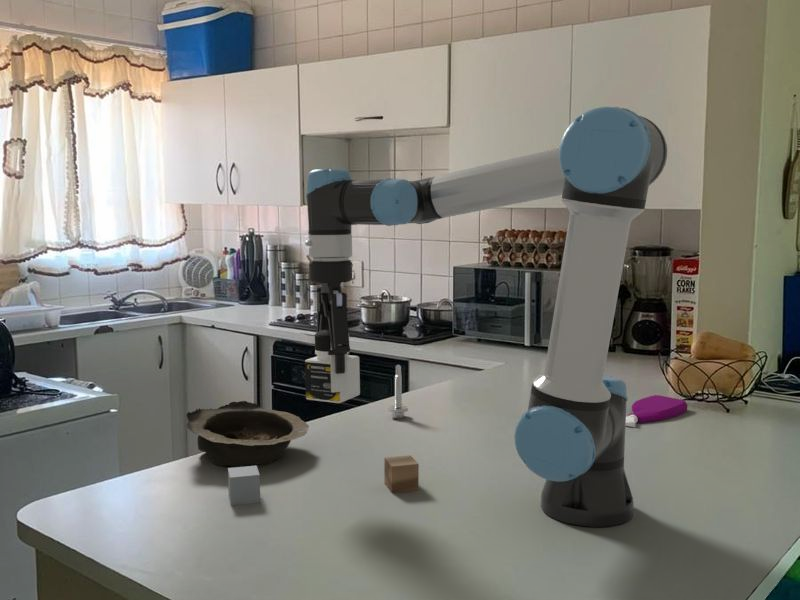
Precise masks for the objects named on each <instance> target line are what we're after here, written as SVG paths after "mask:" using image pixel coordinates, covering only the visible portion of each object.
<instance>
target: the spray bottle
mask: <svg viewBox="0 0 800 600" xmlns="http://www.w3.org/2000/svg"><path fill="white" fill-rule="evenodd" d="M687 410H688V403H687V402H686V400H684V399H680V398H675V397H669V396H663V395H658V394H655V395H650V396H646V397H643V398H640V399H638V400H636V401H634V402H633V403H632V405H631V412H630V413H628V414H627V415H626V425H625V427H630V428H636V424H640V423H649V422H650V423H652V422H656V421H657V422H658V421H663V420H664V421H665V420H669V419H672V418H675V417H676V418H677V416H679V415H682V414H684V413H686V412H687Z"/></svg>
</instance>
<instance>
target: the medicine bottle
mask: <svg viewBox="0 0 800 600" xmlns="http://www.w3.org/2000/svg"><path fill="white" fill-rule="evenodd" d="M314 350H315V351H314V354H315V355H316V356H314V357H310V358H307V359H305V360H304V371H305V372H304V373H305V377H304V378H305V399H306V400H308V401H317V402H325V403H326V402H327V403H334V404H341V403H344V402H346V401H348V400H351V399H353V398H355V397H358V396H360V394H361V379H360V378H361V377H360V376H361V375H360V374H361V373H360V372H361V371H360V369H361V368H360V367H361V366H360V356H358V355H351V354H350V351H349V352H347V391H345V392H331V365H330V355H328V351H329V350H332V348H331V340H330V332H329V330H321V331H319V332H317V331H316V332H315V334H314Z"/></svg>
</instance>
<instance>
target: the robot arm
mask: <svg viewBox="0 0 800 600" xmlns="http://www.w3.org/2000/svg"><path fill="white" fill-rule="evenodd" d="M667 158H668V144H667V141H666V138H665V136H664V134H663V132H662V130H661V129H660V128H659V126H657V124H656V123H655V122H653V121H652V120H650V119H649V118H646V117H644V116H641V115H638V114H637V113H636V112H635V111H632V110H630V109H628V108H624V107H622V108H621V107H619V106H600V107H596V108H592V109H589V110H587V111H586V112H584V113H581V114H580V115H579V116H578V117H576V118H575V119H574V120H573V121H572V122H571V123H570V124H569V125H568V127H567V128H566V130H565V131H564V133H563V136H562V137H561V140H560V144H559V147H558V148H557V147H556V148H553V149H549V150H545V151H540V152H535V153H532V154H527V155H522V156H518V157H514V158H509V159H506V160H500V161H496V162H492V163H489V164H484V165H479V166H475V167H470V168H467V169H463V170H457V171H454V172H449V173H448V172H447V173H445V174H441V175H440V174H439V175H435V176H432V177H427V178H422V179H418V180H407V179H403V178H402V179H401V178H391V177H389V178H384V179H365V180H364V179H362V180H357V179H356V180H355V179H352V177H351V172H350V171H349V170H348V169H343V168H320V169H318V168H317V169H312V170H311V171H309V172H308V173H307V181H306V182H307V183H306V184H307V186H306V187H307V190H306V196H305V197H306V202H307V205H306V206H307V219H308V239H307V240H305V241H304V244H305V246H306V247H308V257H310V259H311V258H312V260H310V261H309V263H308V275H309V276H308V279H309V281H310V282H311V283H315V284H321V285H320V286H317V288H316V295H317V296H316V297H317V301H316V302H317V304H316V305H317V306H316V310H317V312H316V333H317V332H319V331H321V330H329V332H330V340H331V348H332V350H329V351H328V355H330V365H331V392H345V391H347V352H349V353H350V351H351V347H350V346H351V345H350V334H349V333H350V332H349V323H348V321H349V320H348V310H347V306H348V305H347V301H348V300H347V299H348V295H347V293H344V292H342V286H341V285H342V284H343V283H350V282H351V281H352V280H353V261H352V260H350V258H351V257H353V234H352V226H357V225H362V226H364V225H368V226H371V225H372V226H387V227H390V226H399V225H407V224H417V225H422V224H429V223H432V222H435V221H437V220H441V219H444V218H450V217H456V216H460V215H465V214H470V213H475V212H481V211H487V210H491V209H496V208H500V207H501V208H503V207H505V206H511V205H517V204H522V203H526V202H527V203H528V202H532V201H537V200H541V199H542V200H543V199H547V198H552V197H557V196H561V202H562V203H563V204H564V206H565V207H566V208H567V210H568V212H569V217H568V218H569V219H568V225H567V230H566V236H565V242H564V249H563V255H562V260H561V266H560V272H559V273H560V274H559V279H558V285H557V292H556V298H555V304H554V311H553V316H552V322H551V330H550V334H549V335H550V336H549V341H548V347H547V354H546V360H545V365H544V370H543V372H542V373H540V374H539V375H537V376H536V377H534V378H533V379H532V383H531V389H530V395H529V400H528V406H527V408H528V409H527V411H525V412H524V413H523V414H522V415H521V417H520V419H519V420H518V422H517V424H516V427H515V431H514V444H515V449H516V452H517V454H518V456H519V458H520V459H521V460H522V462H523V463H524V464H525V466H526V467H527V469H529V470H530V471H531V472H532V473H534V474H535V475H537V476H538V477H540V478H542V479H545V482H544V485H543V488H542V490H541V495H540V508H541V510H542V512H543V513H544V514H546V515H547V516H549V517H551V518H553V520H554V519H555V520H557V521H560V522H563V523H566V524H570V525H575V526H583V527H594V528H595V527H596V528H602V527H603V528H604V527H613V526H619V525H621V524H624V523H626V522H629V521H630V520H631V519H632V518H633V516H634V505H635V503H634V498H633V494H632V490H631V488H630V484H629V481H628V477H627V474H626V471H625V449H626V448H625V447H626V446H625V445H626V426H625V425H626V416H627V402H628V400H629V398H628V396H627V394H628V393H627V385H626V382H625V381H624V380H622V379H621V378H618V377H614V376H608V375H605V371H606V364H607V359H608V353H609V347H610V343H611V342H610V341H611V336H612V331H613V325H614V321H615V320H614V319H615V313H616V308H617V302H618V296H619V290H620V285H621V279H622V274H623V269H624V262H625V257H626V251H627V247H628V246H627V245H628V239H629V233H630V228H631V223H632V221H633V220H634V219H636V218H637V217H638V216H640V215H641V214H642V213H643V212H645V210H646V209H645V208H646V203H647V198H648V192H649V188H650V186H651V185H652V184H653V183H655V182H656V181H657V179H658V178H659V177H660V175H661V174H662V173H663V170H664V168H665V167H666V164H667Z"/></svg>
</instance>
